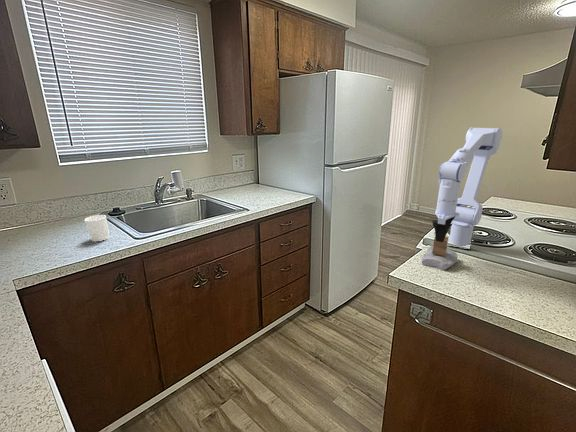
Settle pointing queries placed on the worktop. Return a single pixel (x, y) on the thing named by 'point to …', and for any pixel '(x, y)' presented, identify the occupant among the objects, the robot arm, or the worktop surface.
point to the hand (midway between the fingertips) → (441, 237)
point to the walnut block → (440, 247)
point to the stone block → (439, 259)
